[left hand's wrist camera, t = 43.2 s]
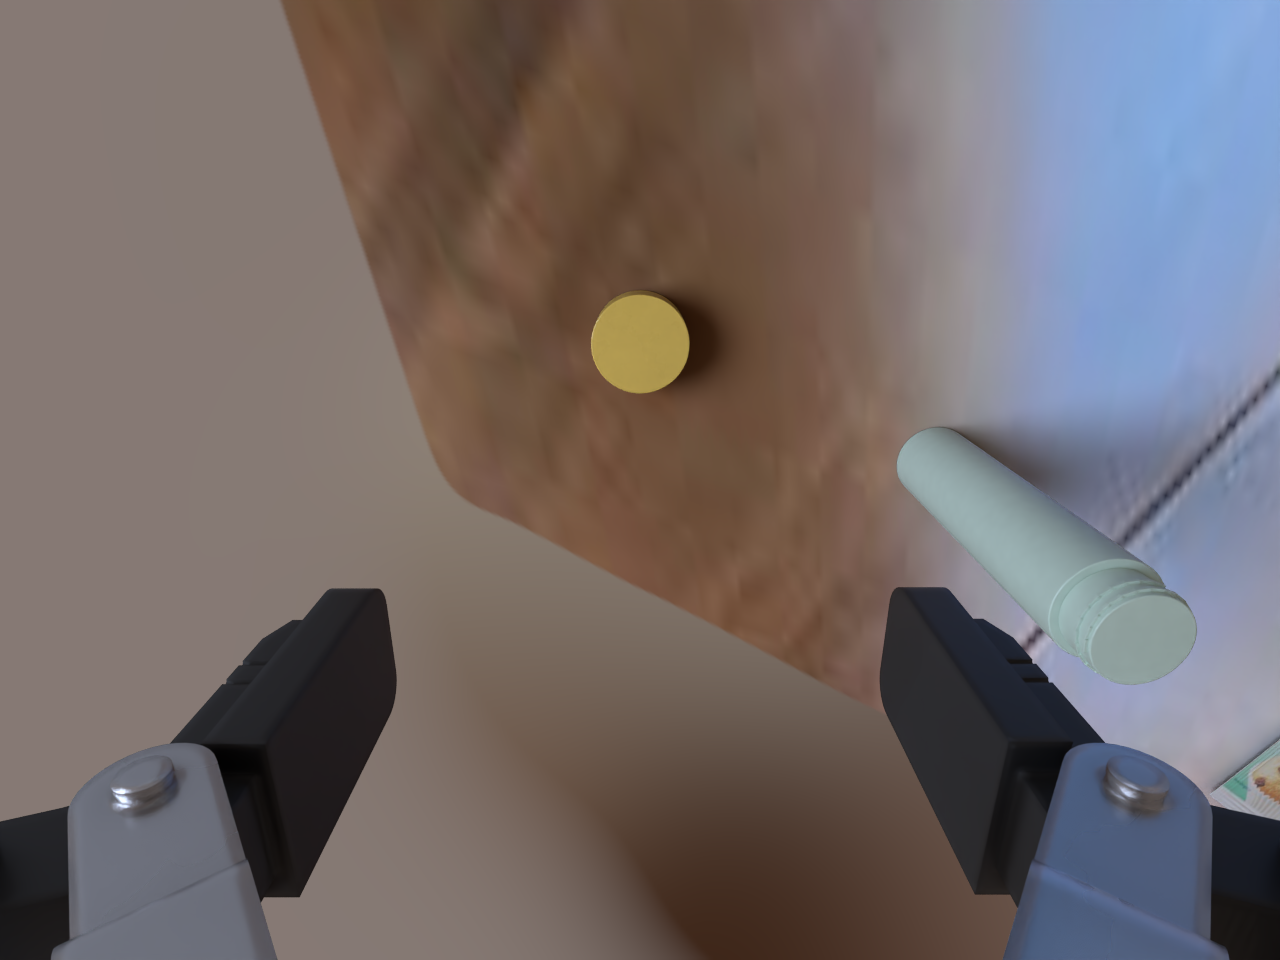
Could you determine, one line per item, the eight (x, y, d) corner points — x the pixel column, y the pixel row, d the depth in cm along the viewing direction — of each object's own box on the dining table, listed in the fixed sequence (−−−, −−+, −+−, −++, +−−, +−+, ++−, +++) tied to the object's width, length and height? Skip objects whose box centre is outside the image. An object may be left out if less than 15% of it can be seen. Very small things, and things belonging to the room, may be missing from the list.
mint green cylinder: (970, 422, 40) (1215, 578, 23) (969, 490, 42) (1199, 685, 25) (895, 432, 41) (1083, 595, 23) (897, 500, 42) (1075, 700, 25)
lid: (580, 307, 38) (577, 312, 36) (671, 277, 38) (673, 281, 36) (610, 395, 40) (609, 405, 38) (698, 368, 39) (701, 376, 37)
